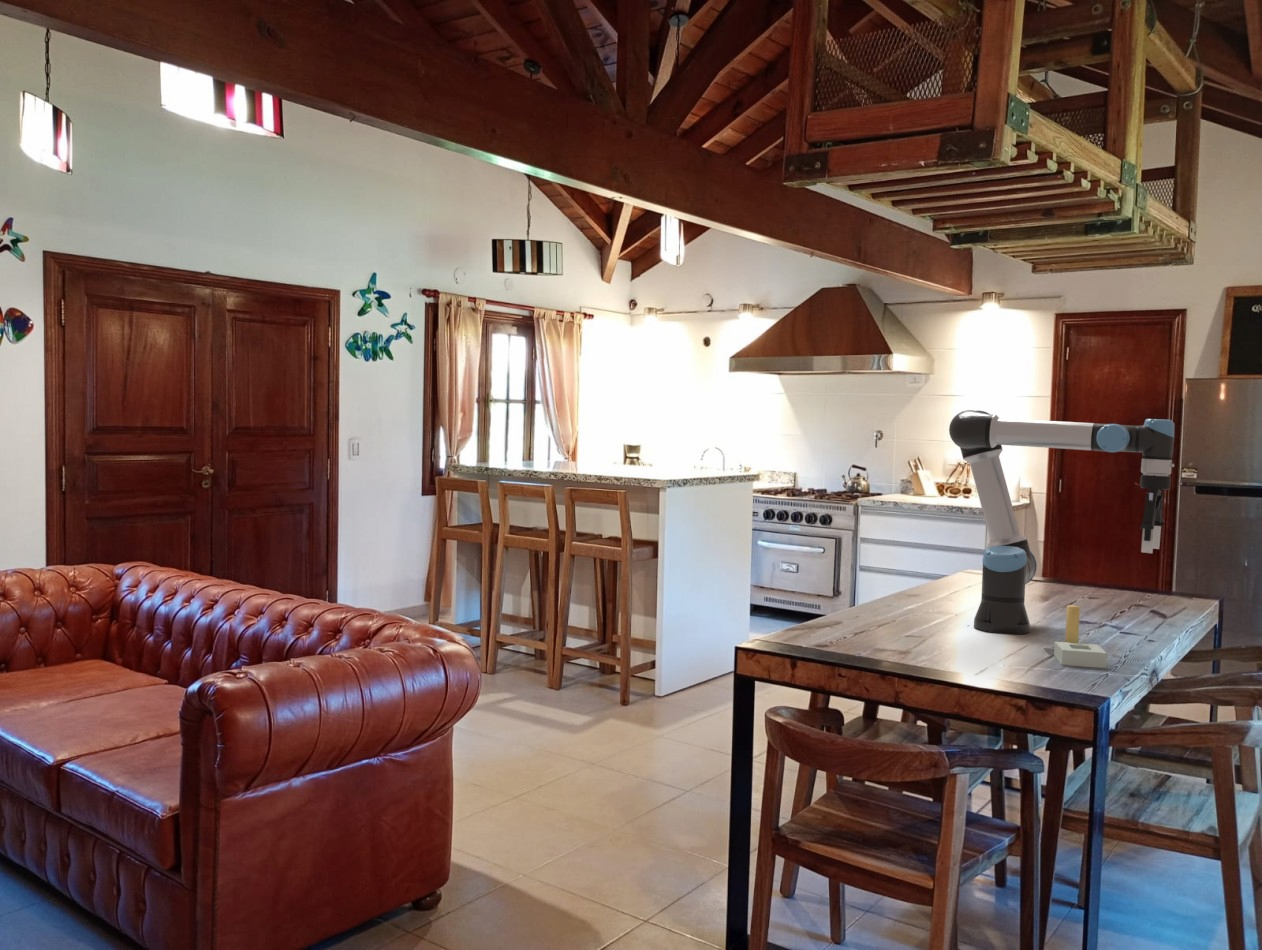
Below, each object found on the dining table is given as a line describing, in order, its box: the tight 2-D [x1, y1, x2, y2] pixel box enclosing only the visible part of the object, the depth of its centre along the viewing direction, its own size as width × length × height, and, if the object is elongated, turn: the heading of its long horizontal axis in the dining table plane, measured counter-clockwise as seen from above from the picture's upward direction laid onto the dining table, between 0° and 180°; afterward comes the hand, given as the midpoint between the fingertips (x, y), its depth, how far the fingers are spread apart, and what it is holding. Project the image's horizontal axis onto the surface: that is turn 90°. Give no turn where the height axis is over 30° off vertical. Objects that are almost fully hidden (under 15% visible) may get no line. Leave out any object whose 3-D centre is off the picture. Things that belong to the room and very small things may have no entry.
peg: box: [1064, 604, 1081, 643], centre depth 257 cm, size 3×3×12 cm
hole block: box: [1053, 641, 1108, 669], centre depth 248 cm, size 10×10×4 cm
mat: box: [1043, 647, 1054, 656], centre depth 257 cm, size 12×8×1 cm, turn 77°
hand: (1150, 550), depth 281 cm, fingers open, 13 cm apart
